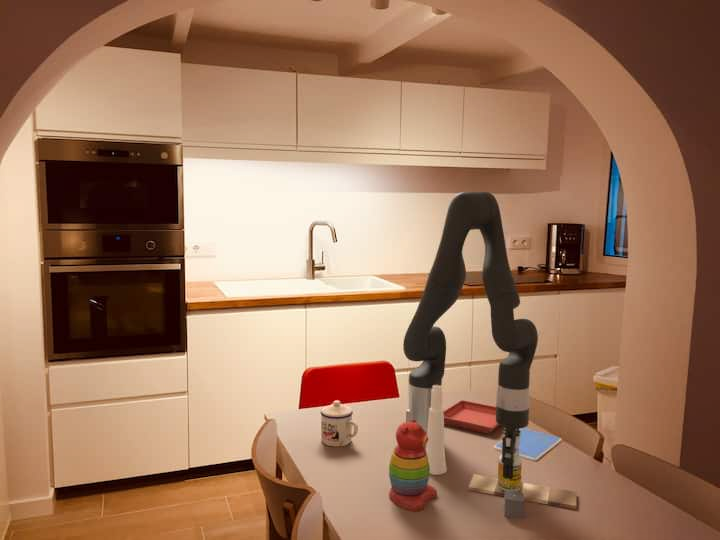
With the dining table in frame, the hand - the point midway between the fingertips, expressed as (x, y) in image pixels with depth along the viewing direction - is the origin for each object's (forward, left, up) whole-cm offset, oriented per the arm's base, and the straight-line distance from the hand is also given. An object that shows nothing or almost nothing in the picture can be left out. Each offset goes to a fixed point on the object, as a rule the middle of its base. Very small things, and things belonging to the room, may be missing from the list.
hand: (509, 470), depth 139 cm
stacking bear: (-21, -12, -5) cm, 25 cm away
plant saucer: (-15, +42, -6) cm, 45 cm away
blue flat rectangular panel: (+2, +30, -6) cm, 31 cm away
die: (+2, -10, -5) cm, 12 cm away
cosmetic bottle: (-19, +4, -5) cm, 20 cm away
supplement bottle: (0, 0, -4) cm, 4 cm away
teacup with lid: (-48, +11, -5) cm, 50 cm away
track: (+3, 0, -5) cm, 6 cm away
